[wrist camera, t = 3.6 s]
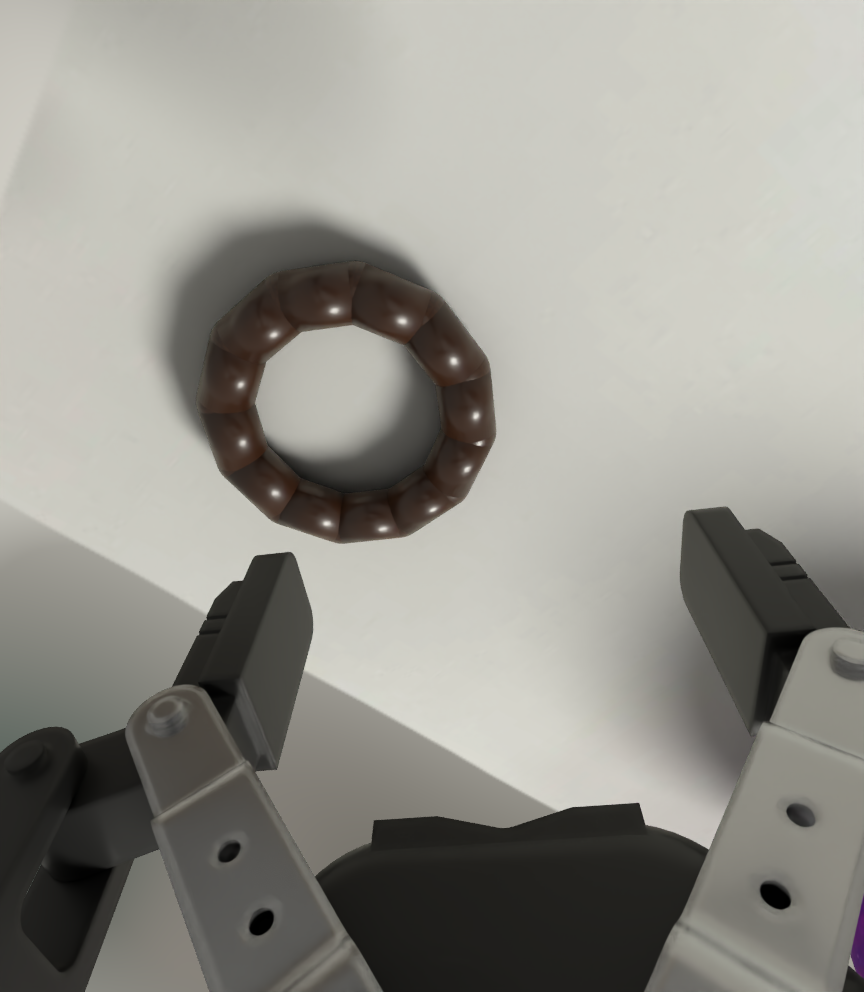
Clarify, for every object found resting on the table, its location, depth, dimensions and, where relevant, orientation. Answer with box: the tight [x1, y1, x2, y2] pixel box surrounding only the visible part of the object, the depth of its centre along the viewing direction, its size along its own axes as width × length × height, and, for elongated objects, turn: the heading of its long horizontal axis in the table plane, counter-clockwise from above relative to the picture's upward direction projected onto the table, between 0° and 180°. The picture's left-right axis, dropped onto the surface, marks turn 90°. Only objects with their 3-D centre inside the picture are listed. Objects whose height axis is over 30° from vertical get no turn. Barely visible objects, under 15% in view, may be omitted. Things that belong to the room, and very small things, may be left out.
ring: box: [196, 261, 496, 544], centre depth 21 cm, size 10×10×2 cm
